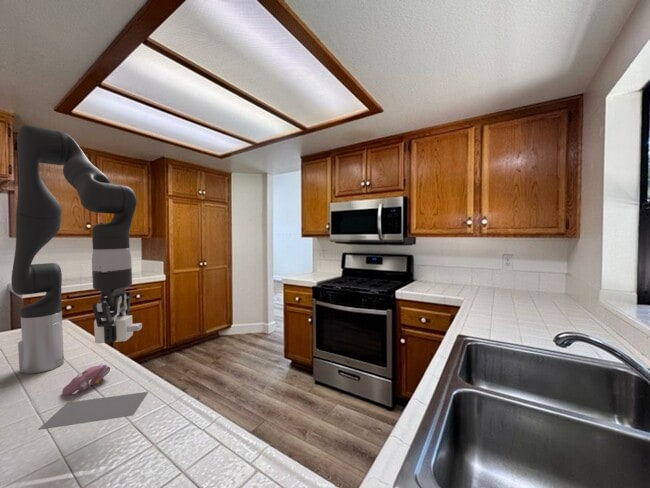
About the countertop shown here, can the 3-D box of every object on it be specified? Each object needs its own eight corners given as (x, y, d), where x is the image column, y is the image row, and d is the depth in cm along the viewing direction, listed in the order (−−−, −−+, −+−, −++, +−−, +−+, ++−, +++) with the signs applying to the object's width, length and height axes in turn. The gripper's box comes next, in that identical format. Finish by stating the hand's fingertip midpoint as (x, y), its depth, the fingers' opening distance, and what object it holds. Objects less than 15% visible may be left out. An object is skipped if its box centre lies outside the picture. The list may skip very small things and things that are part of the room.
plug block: (91, 344, 65) (90, 322, 65) (100, 337, 69) (99, 317, 69) (137, 339, 67) (136, 319, 67) (143, 334, 71) (143, 314, 71)
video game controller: (71, 404, 73) (80, 381, 72) (58, 394, 74) (67, 372, 73) (107, 384, 83) (115, 364, 82) (95, 376, 83) (103, 356, 82)
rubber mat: (38, 431, 60) (37, 429, 60) (67, 404, 70) (67, 402, 70) (133, 417, 65) (133, 415, 65) (148, 393, 75) (148, 391, 75)
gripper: (109, 265, 73) (111, 330, 74) (75, 272, 59) (79, 352, 60) (141, 264, 75) (143, 327, 76) (116, 270, 61) (119, 348, 62)
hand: (115, 338), depth 68 cm, fingers closed on plug block, 4 cm apart
